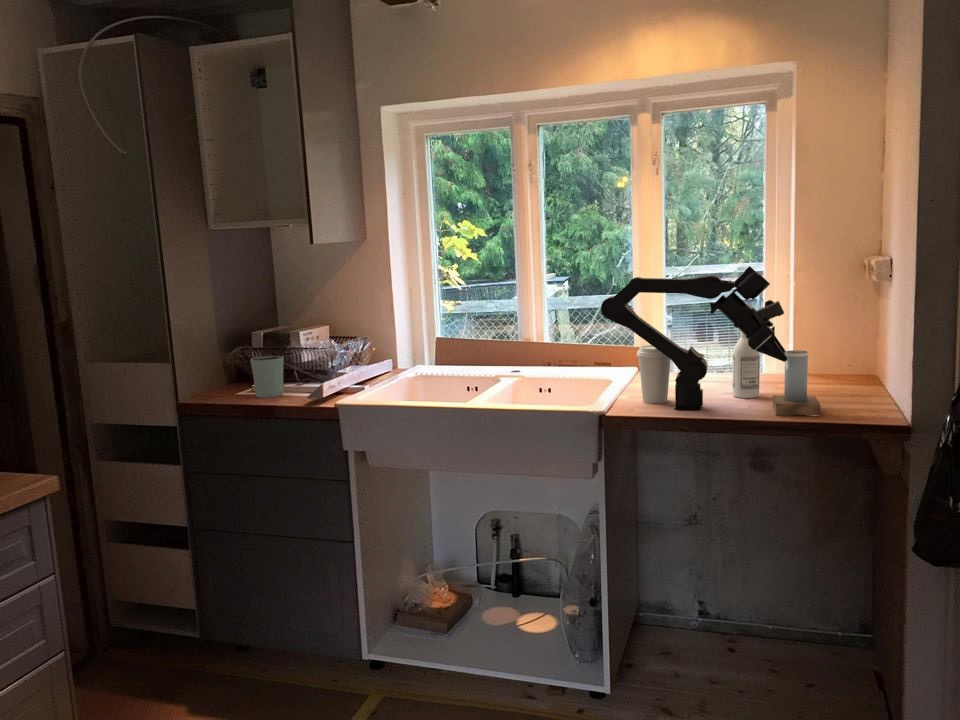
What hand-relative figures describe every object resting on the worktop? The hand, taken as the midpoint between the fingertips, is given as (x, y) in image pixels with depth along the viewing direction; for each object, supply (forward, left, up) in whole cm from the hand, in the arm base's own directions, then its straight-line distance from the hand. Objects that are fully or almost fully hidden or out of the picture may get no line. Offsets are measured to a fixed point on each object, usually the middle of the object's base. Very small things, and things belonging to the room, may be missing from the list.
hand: (785, 357), depth 192 cm
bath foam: (-9, +17, -14) cm, 24 cm away
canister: (+2, -1, -10) cm, 11 cm away
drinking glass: (-153, +9, -14) cm, 153 cm away
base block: (+2, -1, -13) cm, 14 cm away
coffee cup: (-33, +9, -14) cm, 36 cm away
